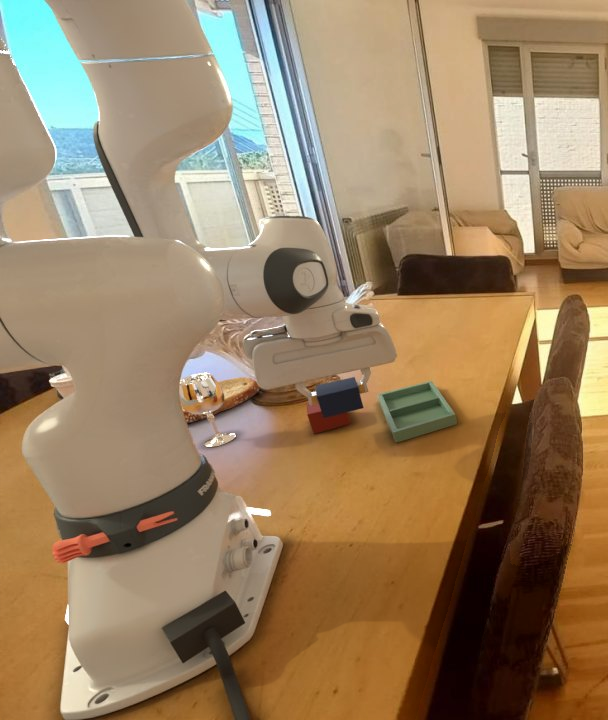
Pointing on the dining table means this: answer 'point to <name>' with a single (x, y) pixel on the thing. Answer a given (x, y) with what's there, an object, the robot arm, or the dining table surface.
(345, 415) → the red block
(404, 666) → the dining table surface
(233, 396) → the slice of bread
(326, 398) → the pad
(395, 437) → the tray
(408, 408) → the tray rib
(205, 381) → the wineglass
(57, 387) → the smoothie
